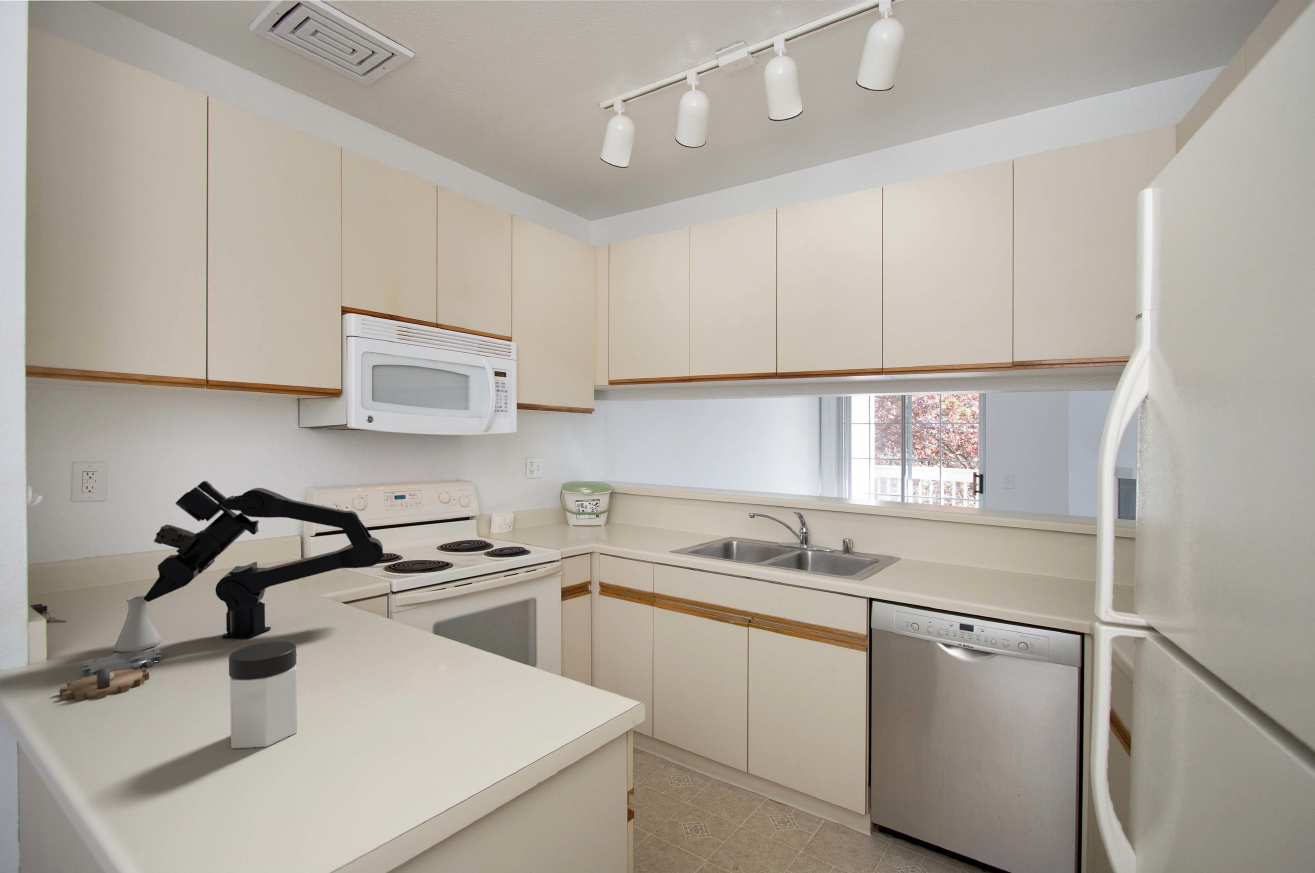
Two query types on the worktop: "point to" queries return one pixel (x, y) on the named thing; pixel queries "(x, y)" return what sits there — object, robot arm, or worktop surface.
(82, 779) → the worktop surface
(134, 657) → the gear
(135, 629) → the flask
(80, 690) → the drive gear
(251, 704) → the jar
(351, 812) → the worktop surface
